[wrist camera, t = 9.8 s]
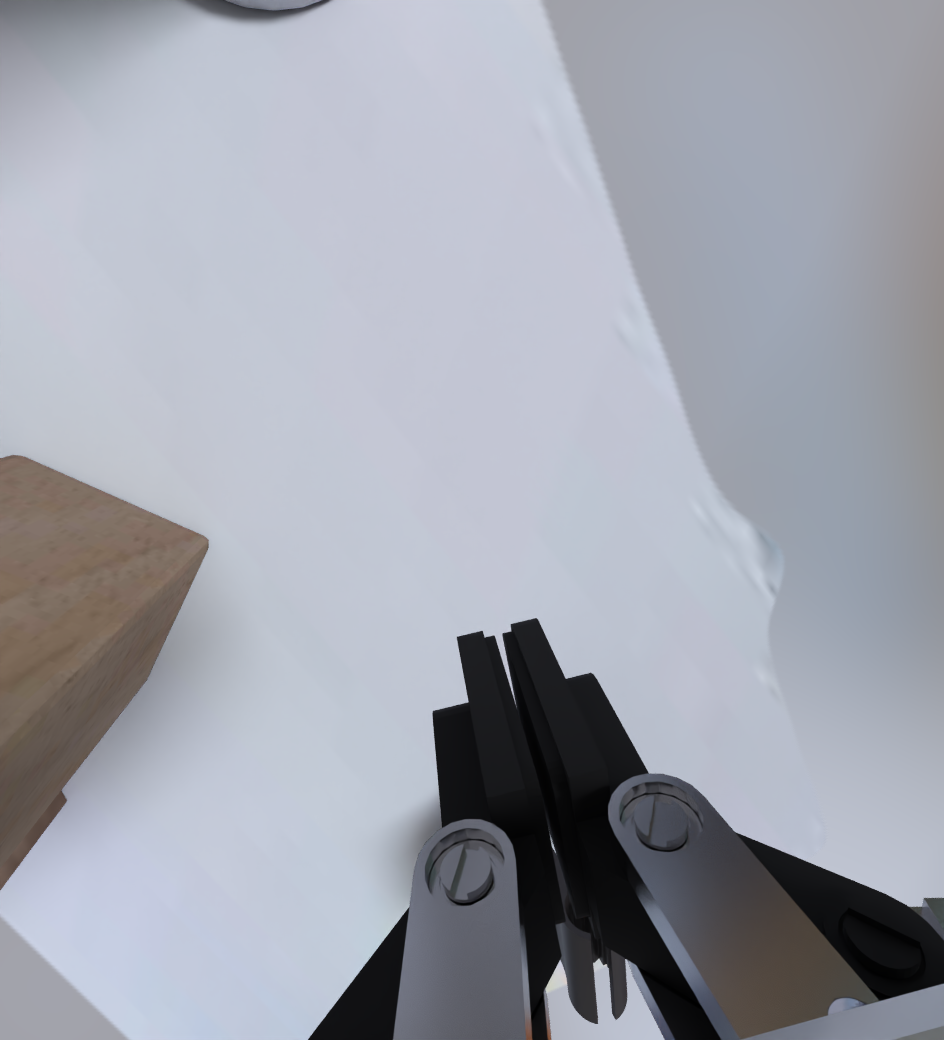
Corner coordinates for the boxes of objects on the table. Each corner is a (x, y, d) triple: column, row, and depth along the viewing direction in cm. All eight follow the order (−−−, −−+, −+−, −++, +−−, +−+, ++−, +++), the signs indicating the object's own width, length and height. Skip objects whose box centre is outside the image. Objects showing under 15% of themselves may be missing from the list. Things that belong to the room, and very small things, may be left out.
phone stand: (605, 739, 37) (694, 916, 25) (609, 808, 38) (694, 1003, 27) (472, 764, 36) (503, 957, 25) (483, 833, 38) (516, 1042, 26)
